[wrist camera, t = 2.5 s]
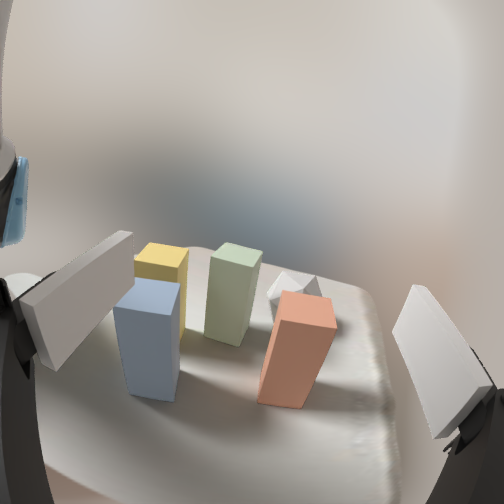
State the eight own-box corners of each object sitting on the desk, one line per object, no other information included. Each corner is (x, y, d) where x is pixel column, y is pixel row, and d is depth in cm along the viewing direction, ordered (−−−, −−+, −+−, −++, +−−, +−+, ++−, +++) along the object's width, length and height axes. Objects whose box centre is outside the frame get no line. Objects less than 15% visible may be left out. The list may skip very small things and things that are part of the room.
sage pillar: (203, 336, 37) (210, 256, 32) (216, 316, 41) (225, 242, 37) (238, 347, 36) (253, 267, 31) (248, 326, 40) (262, 251, 36)
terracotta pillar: (256, 402, 28) (280, 319, 23) (261, 371, 32) (282, 289, 28) (301, 409, 28) (337, 328, 23) (300, 377, 32) (330, 298, 27)
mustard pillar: (139, 343, 33) (133, 259, 28) (151, 320, 38) (149, 242, 33) (176, 351, 33) (177, 267, 28) (185, 327, 38) (188, 248, 33)
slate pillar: (129, 394, 25) (112, 305, 21) (139, 362, 30) (130, 276, 25) (174, 402, 26) (170, 315, 21) (179, 369, 30) (180, 283, 26)
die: (312, 311, 47) (292, 260, 47) (342, 318, 39) (319, 258, 39) (272, 335, 45) (249, 281, 44) (297, 346, 37) (270, 283, 36)
